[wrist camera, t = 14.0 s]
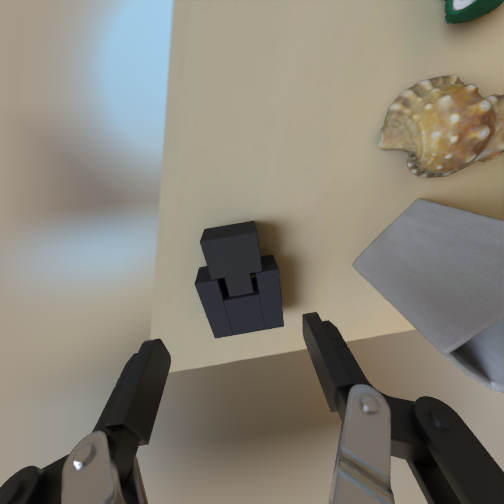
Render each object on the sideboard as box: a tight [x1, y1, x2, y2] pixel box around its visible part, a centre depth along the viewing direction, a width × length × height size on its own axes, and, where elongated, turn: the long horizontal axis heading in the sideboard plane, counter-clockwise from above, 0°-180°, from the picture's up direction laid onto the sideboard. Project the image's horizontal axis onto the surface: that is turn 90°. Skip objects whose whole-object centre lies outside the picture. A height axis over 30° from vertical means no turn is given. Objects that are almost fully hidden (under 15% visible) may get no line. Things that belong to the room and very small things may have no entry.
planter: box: [352, 199, 504, 393], centre depth 19 cm, size 16×8×19 cm, turn 9°
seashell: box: [378, 75, 504, 178], centre depth 17 cm, size 9×8×10 cm
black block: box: [200, 221, 262, 297], centre depth 23 cm, size 6×8×4 cm
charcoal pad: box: [195, 255, 284, 338], centre depth 26 cm, size 10×10×4 cm
